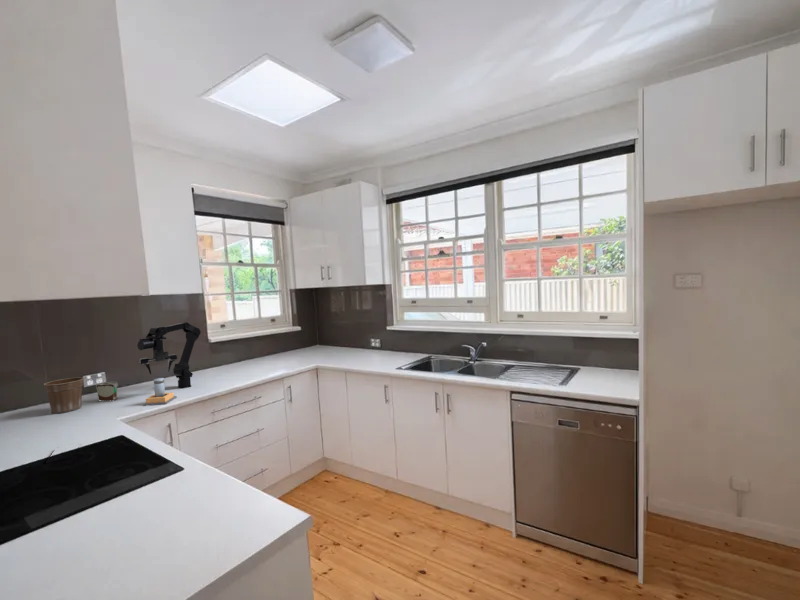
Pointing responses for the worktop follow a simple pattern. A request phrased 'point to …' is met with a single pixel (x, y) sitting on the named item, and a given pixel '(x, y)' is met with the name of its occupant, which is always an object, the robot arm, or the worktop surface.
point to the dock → (160, 399)
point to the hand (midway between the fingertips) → (159, 372)
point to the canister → (159, 387)
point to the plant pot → (65, 394)
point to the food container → (107, 391)
